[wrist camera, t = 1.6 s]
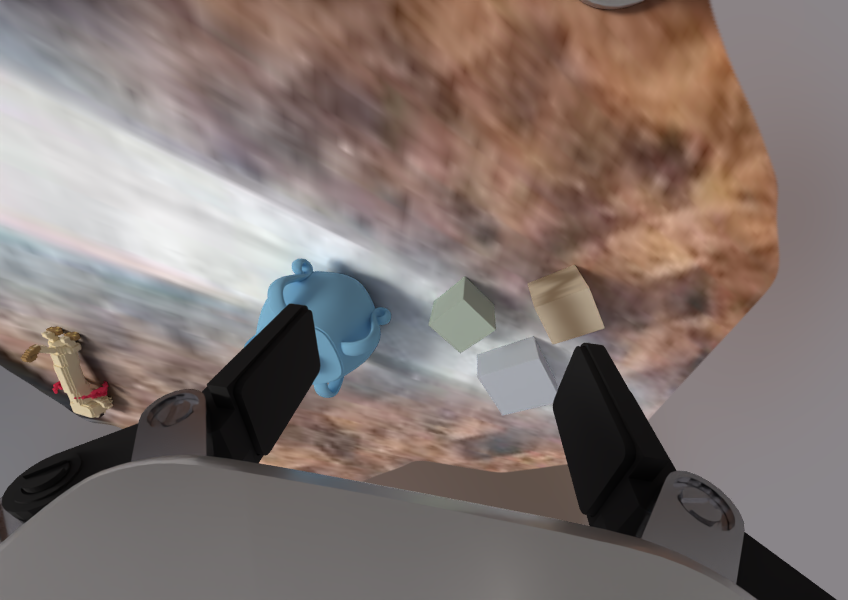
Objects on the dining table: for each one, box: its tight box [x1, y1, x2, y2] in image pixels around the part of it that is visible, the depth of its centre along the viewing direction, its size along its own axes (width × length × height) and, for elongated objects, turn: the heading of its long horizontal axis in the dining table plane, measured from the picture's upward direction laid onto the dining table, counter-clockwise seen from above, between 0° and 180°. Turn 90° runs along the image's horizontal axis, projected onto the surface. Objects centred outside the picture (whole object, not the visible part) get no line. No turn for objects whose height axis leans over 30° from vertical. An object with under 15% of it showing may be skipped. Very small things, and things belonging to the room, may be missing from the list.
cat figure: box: [21, 327, 113, 418], centre depth 64 cm, size 10×9×25 cm
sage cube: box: [429, 277, 496, 353], centre depth 41 cm, size 6×6×6 cm
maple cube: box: [528, 265, 605, 344], centre depth 38 cm, size 6×6×6 cm
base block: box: [477, 336, 558, 415], centre depth 46 cm, size 9×9×5 cm
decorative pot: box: [244, 259, 391, 398], centre depth 41 cm, size 16×16×14 cm
